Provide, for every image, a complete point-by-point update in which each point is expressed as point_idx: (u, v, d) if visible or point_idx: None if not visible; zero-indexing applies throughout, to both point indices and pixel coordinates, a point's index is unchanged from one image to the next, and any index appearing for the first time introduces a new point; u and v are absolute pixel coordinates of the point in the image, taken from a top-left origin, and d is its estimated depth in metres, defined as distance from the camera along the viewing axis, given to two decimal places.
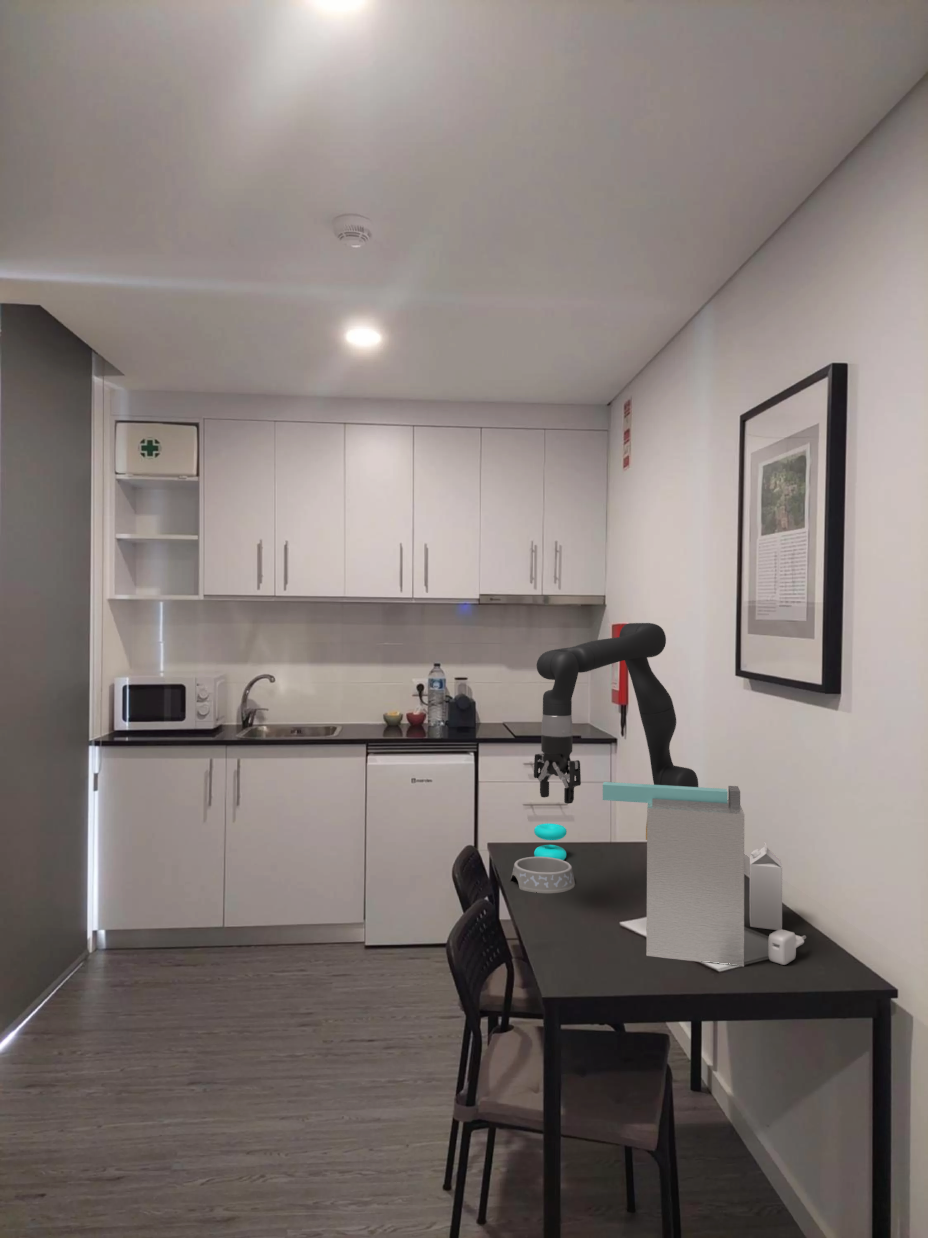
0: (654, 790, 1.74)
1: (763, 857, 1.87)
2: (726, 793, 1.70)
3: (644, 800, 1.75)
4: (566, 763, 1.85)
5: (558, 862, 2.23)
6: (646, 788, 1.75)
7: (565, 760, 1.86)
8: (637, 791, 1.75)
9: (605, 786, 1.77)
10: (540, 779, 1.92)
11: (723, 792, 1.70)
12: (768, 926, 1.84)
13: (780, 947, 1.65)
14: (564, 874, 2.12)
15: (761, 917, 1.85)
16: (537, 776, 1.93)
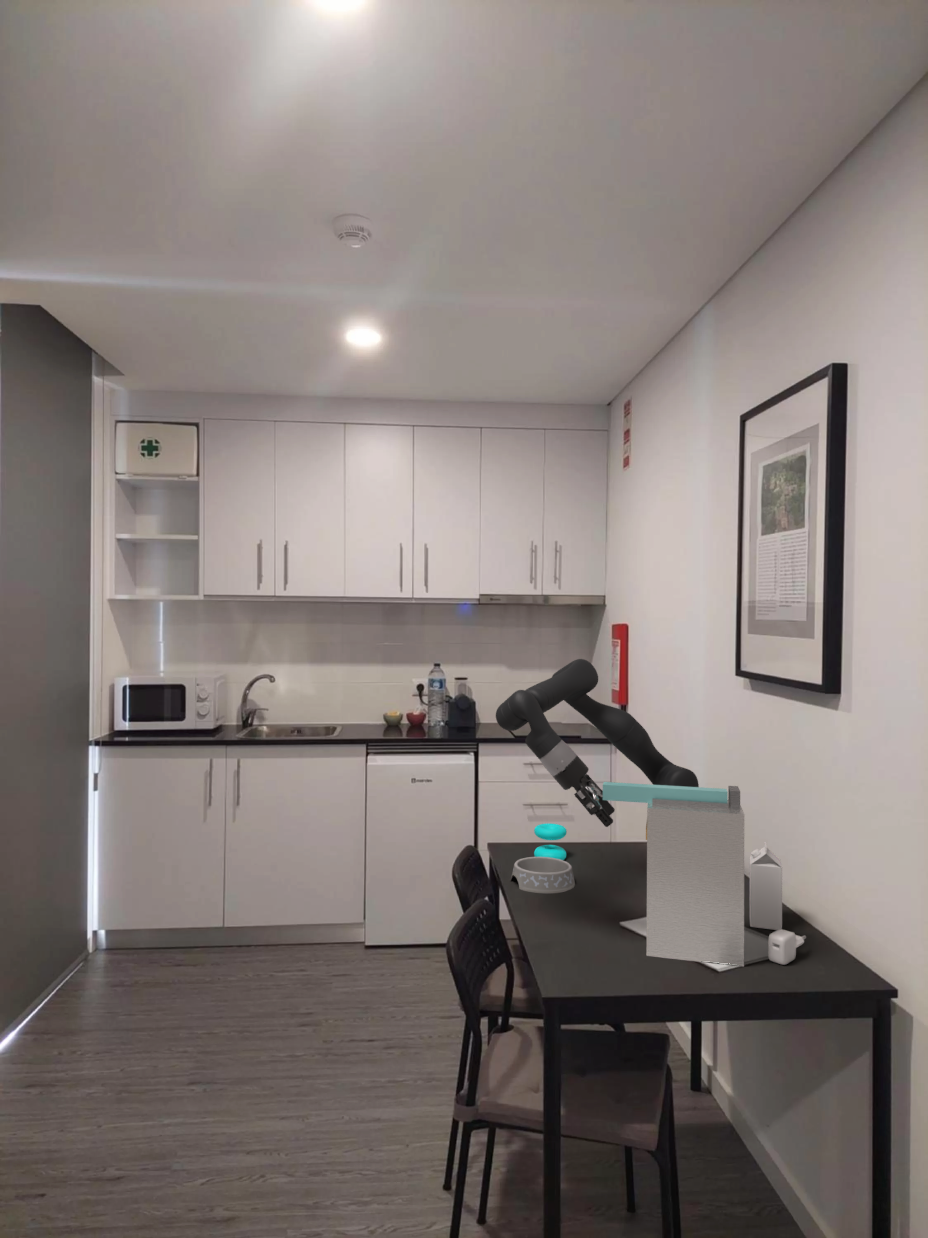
0: (654, 790, 1.74)
1: (763, 857, 1.87)
2: (726, 793, 1.70)
3: (644, 800, 1.75)
4: None
5: (558, 862, 2.23)
6: (646, 788, 1.75)
7: None
8: (637, 791, 1.75)
9: (605, 786, 1.77)
10: (601, 806, 1.74)
11: (723, 792, 1.70)
12: (768, 926, 1.84)
13: (780, 947, 1.65)
14: (564, 874, 2.12)
15: (761, 917, 1.85)
16: None
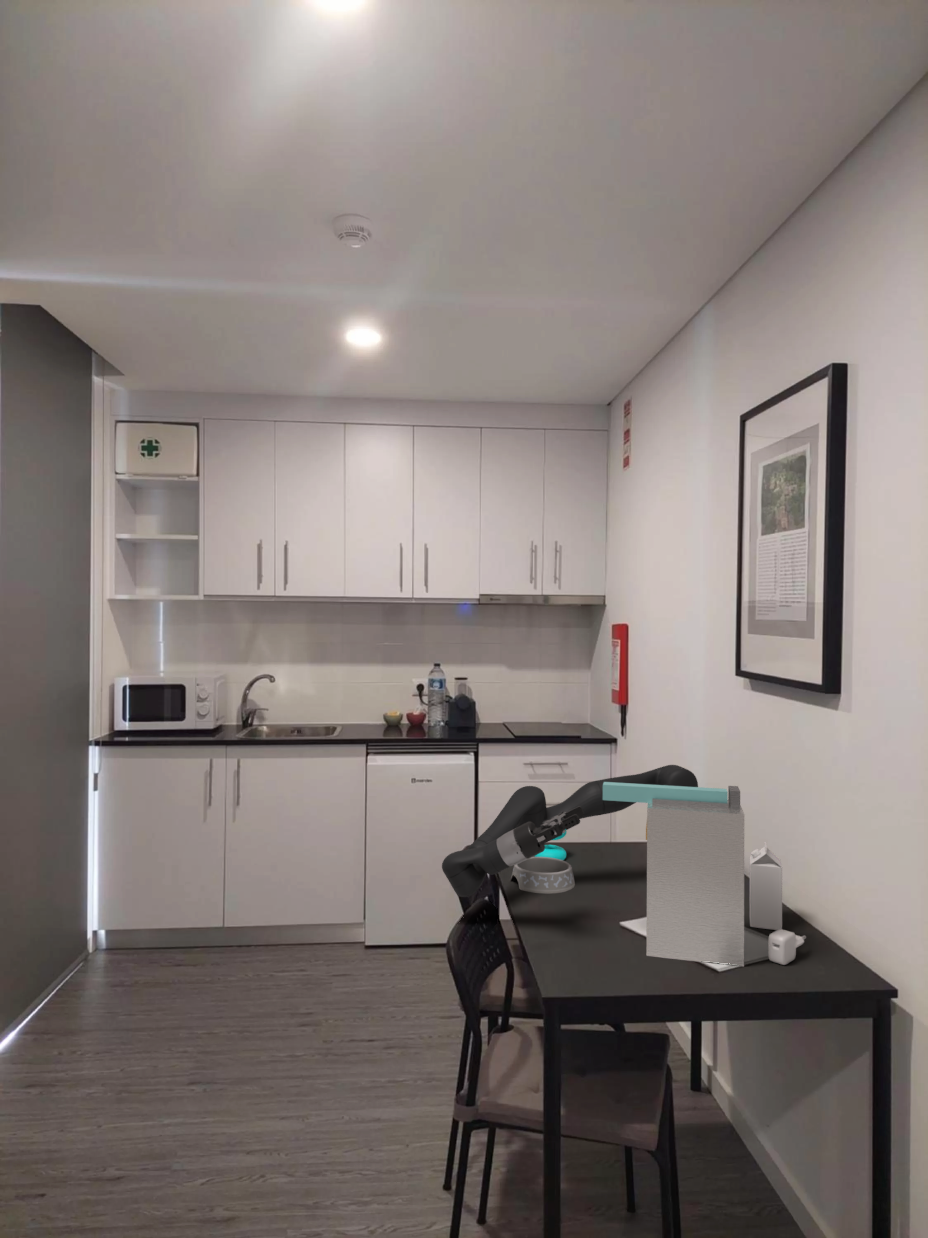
0: (654, 790, 1.74)
1: (763, 857, 1.87)
2: (726, 793, 1.70)
3: (644, 800, 1.75)
4: None
5: (558, 862, 2.23)
6: (646, 788, 1.75)
7: None
8: (637, 791, 1.75)
9: (605, 786, 1.77)
10: (558, 822, 1.77)
11: (723, 792, 1.70)
12: (768, 926, 1.84)
13: (780, 947, 1.65)
14: (564, 874, 2.12)
15: (761, 917, 1.85)
16: None
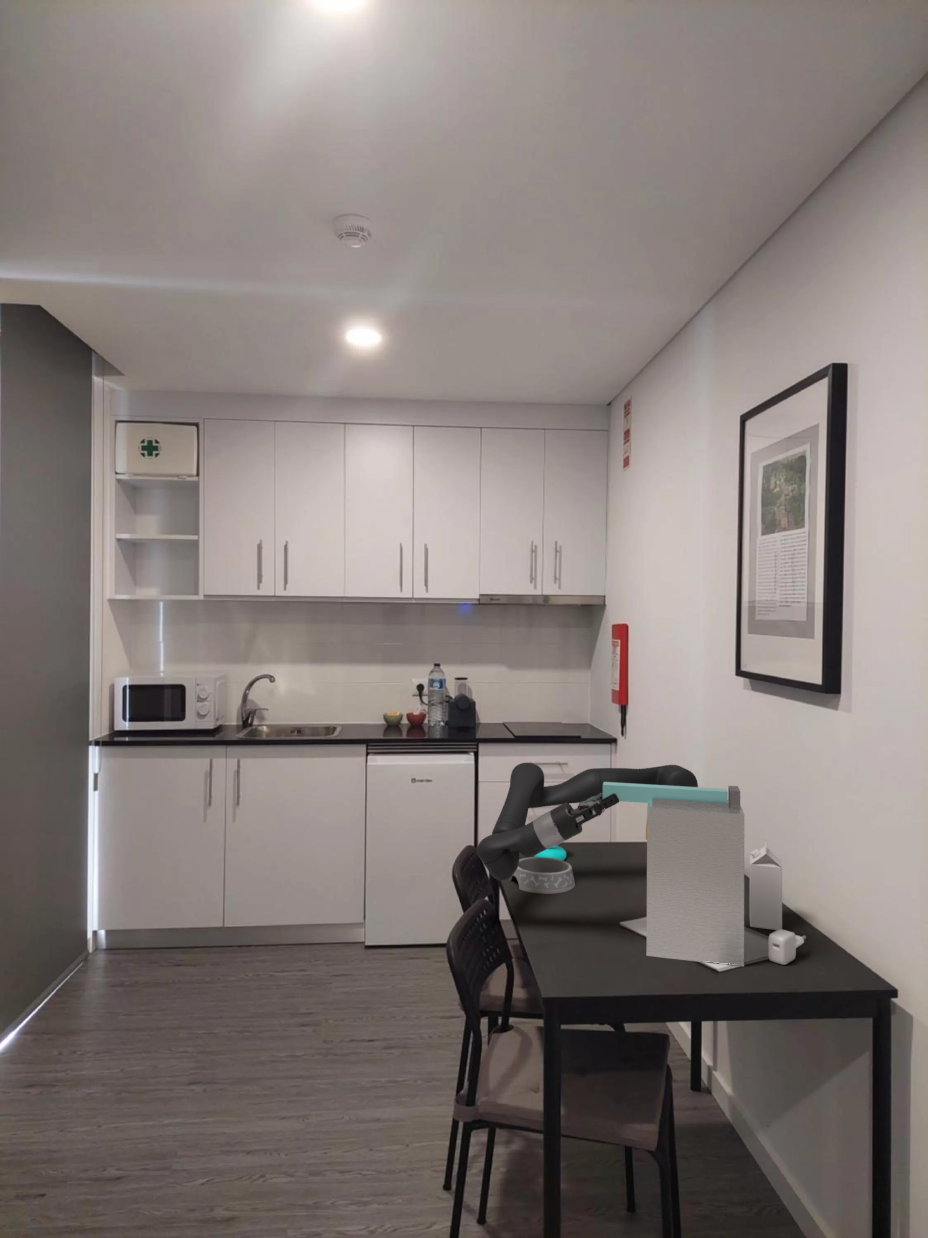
0: (654, 790, 1.74)
1: (763, 857, 1.87)
2: (726, 793, 1.70)
3: (644, 800, 1.75)
4: None
5: (558, 862, 2.23)
6: (646, 788, 1.75)
7: None
8: (637, 791, 1.75)
9: (605, 786, 1.77)
10: (597, 801, 1.74)
11: (723, 792, 1.70)
12: (768, 926, 1.84)
13: (780, 947, 1.65)
14: (564, 874, 2.12)
15: (761, 917, 1.85)
16: None
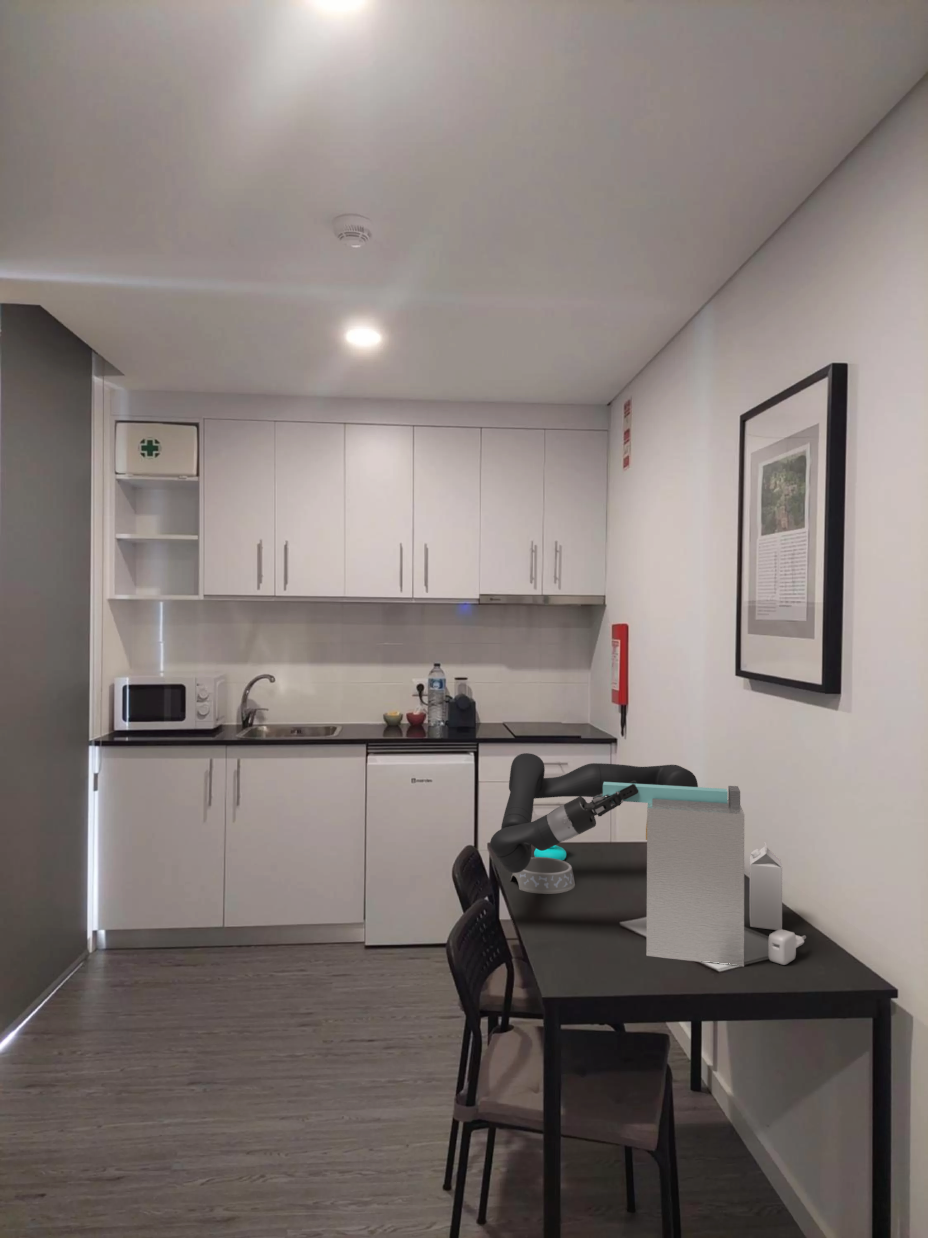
0: (654, 790, 1.74)
1: (763, 857, 1.87)
2: (726, 793, 1.70)
3: (644, 800, 1.75)
4: None
5: (558, 862, 2.23)
6: (646, 788, 1.75)
7: None
8: None
9: (605, 786, 1.77)
10: (616, 792, 1.76)
11: (723, 792, 1.70)
12: (768, 926, 1.84)
13: (780, 947, 1.65)
14: (564, 875, 2.12)
15: (761, 917, 1.85)
16: None
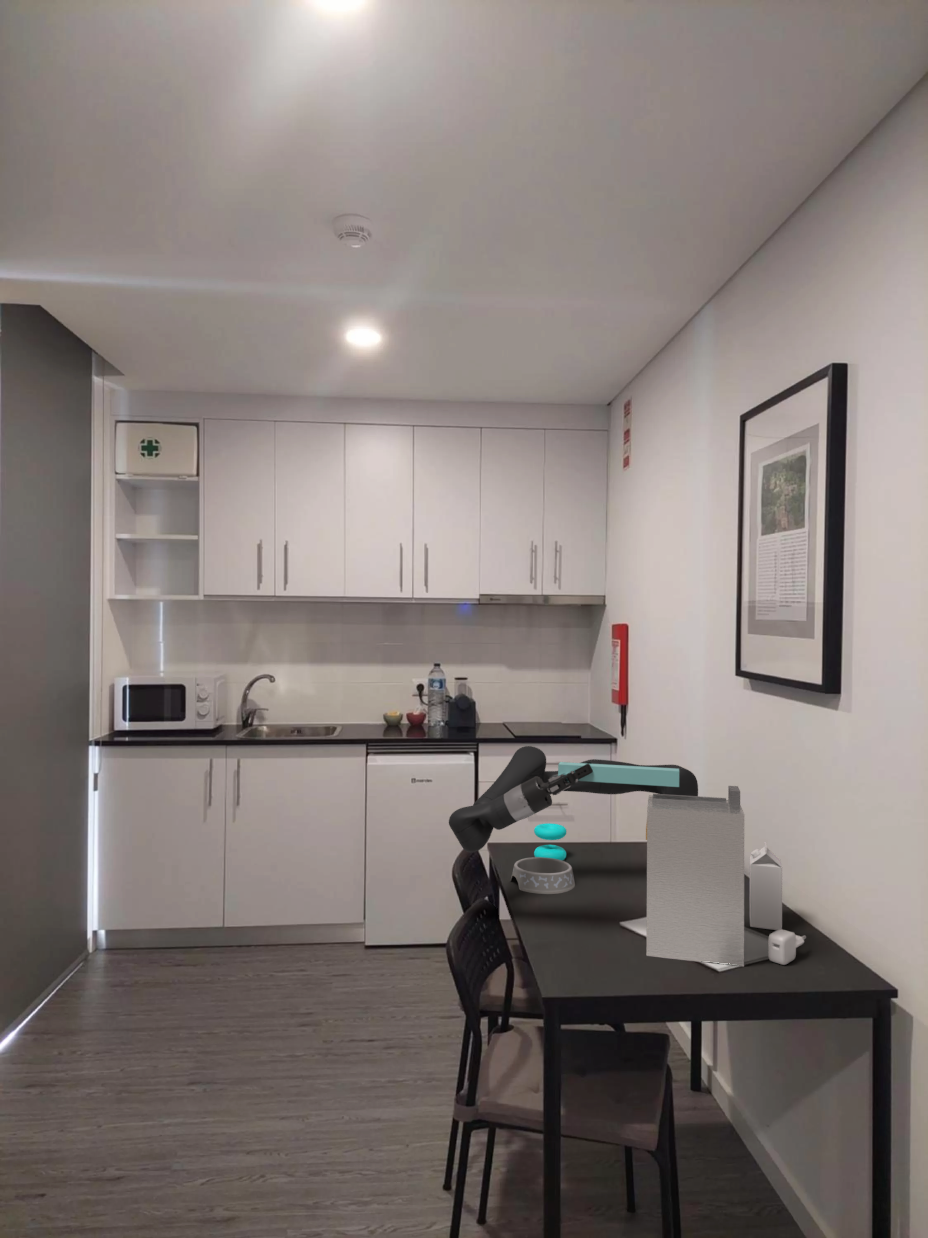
0: (608, 769, 1.77)
1: (763, 857, 1.87)
2: (678, 772, 1.73)
3: (598, 779, 1.77)
4: None
5: (558, 862, 2.23)
6: (600, 768, 1.77)
7: None
8: None
9: (560, 766, 1.80)
10: (571, 771, 1.79)
11: (675, 771, 1.73)
12: (768, 926, 1.84)
13: (780, 947, 1.65)
14: (564, 875, 2.11)
15: (761, 917, 1.85)
16: None
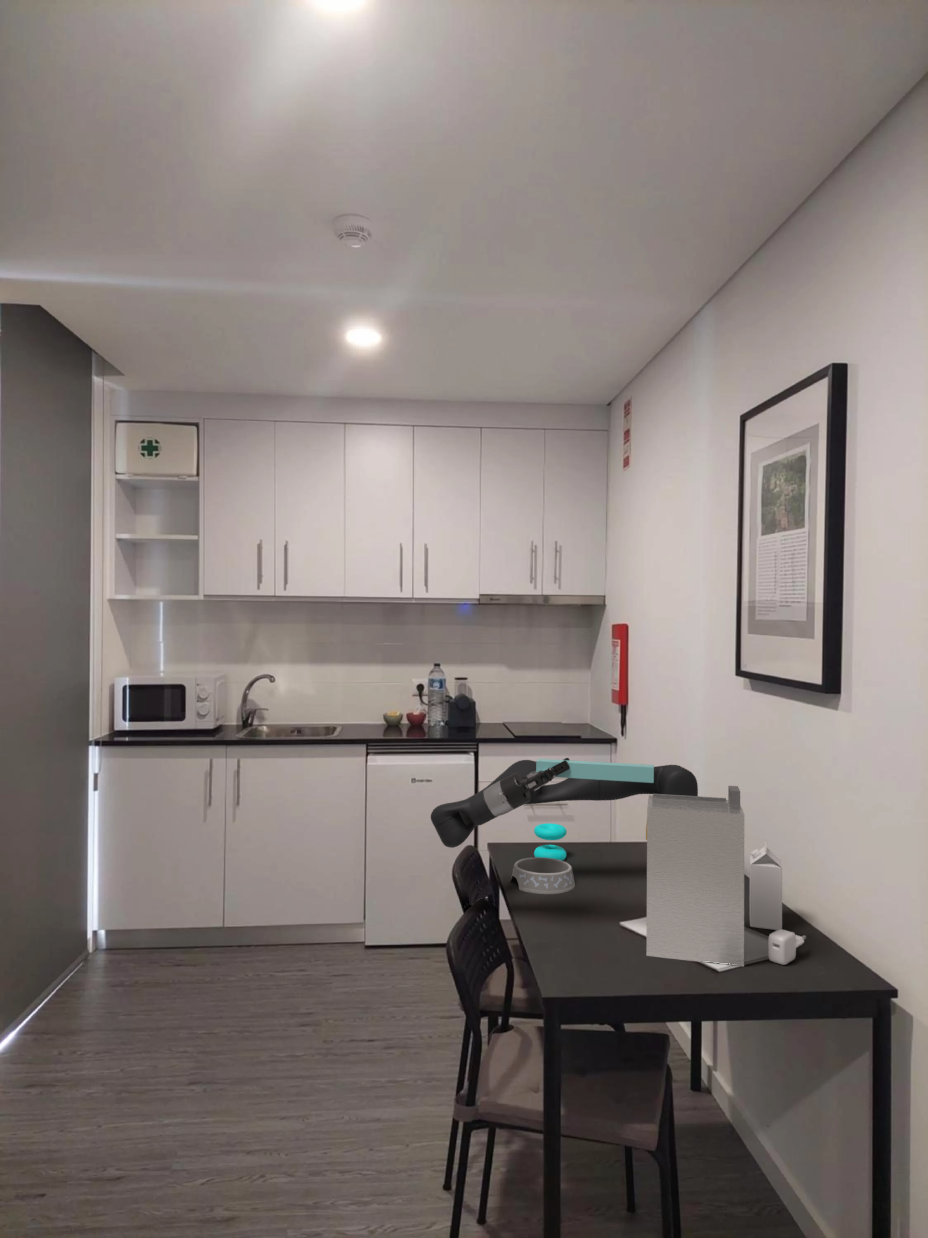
0: (585, 766, 1.81)
1: (763, 857, 1.87)
2: (652, 768, 1.77)
3: (575, 776, 1.82)
4: None
5: (558, 862, 2.23)
6: (577, 764, 1.81)
7: None
8: None
9: (538, 762, 1.84)
10: (548, 768, 1.83)
11: (649, 768, 1.77)
12: (768, 926, 1.84)
13: (780, 947, 1.65)
14: (564, 875, 2.11)
15: (761, 917, 1.85)
16: None
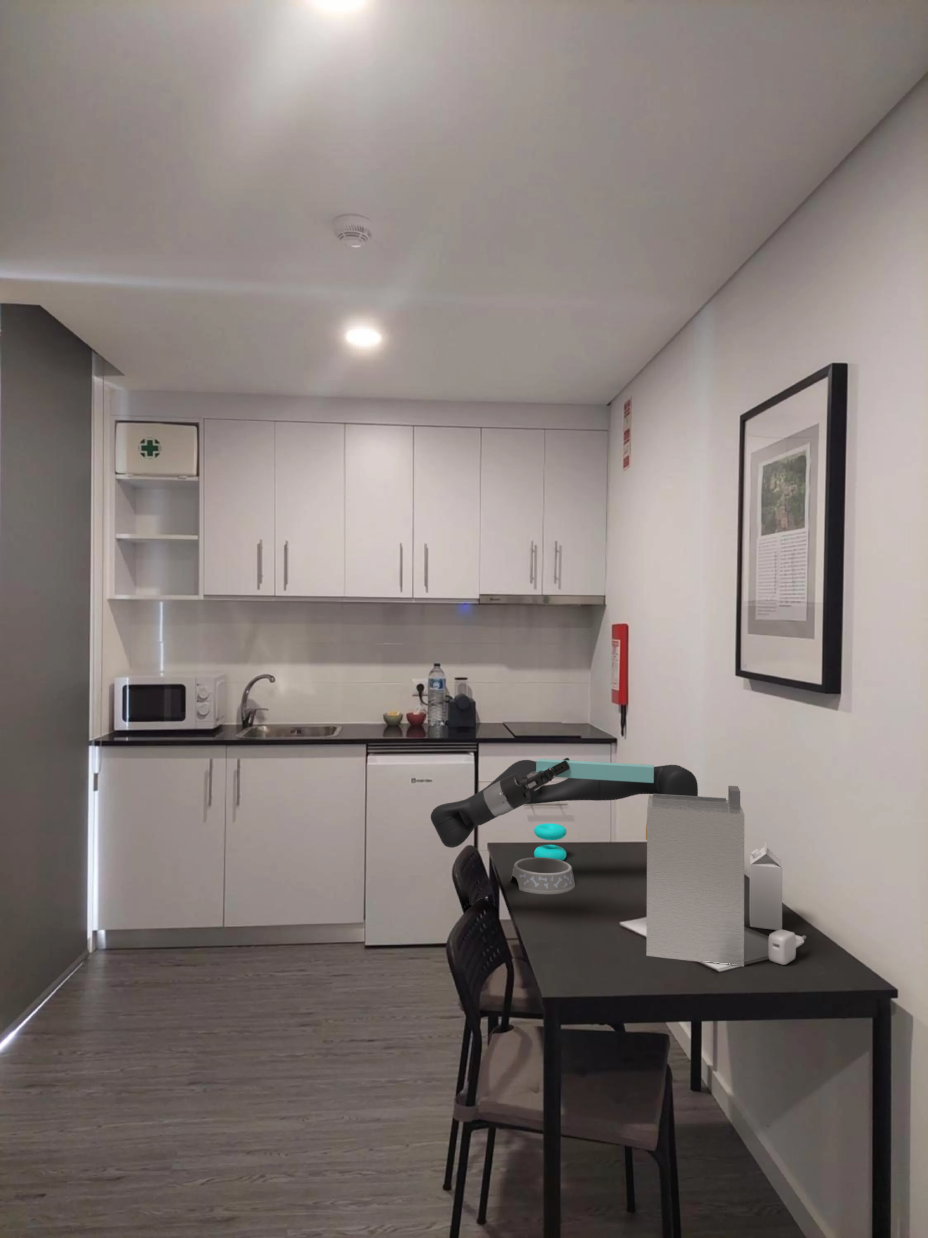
0: (585, 766, 1.81)
1: (763, 857, 1.87)
2: (652, 768, 1.77)
3: (575, 776, 1.82)
4: None
5: (558, 862, 2.22)
6: (577, 764, 1.81)
7: None
8: None
9: (538, 762, 1.84)
10: (548, 768, 1.83)
11: (649, 768, 1.77)
12: (768, 926, 1.84)
13: (780, 947, 1.65)
14: (564, 875, 2.11)
15: (761, 917, 1.85)
16: None
